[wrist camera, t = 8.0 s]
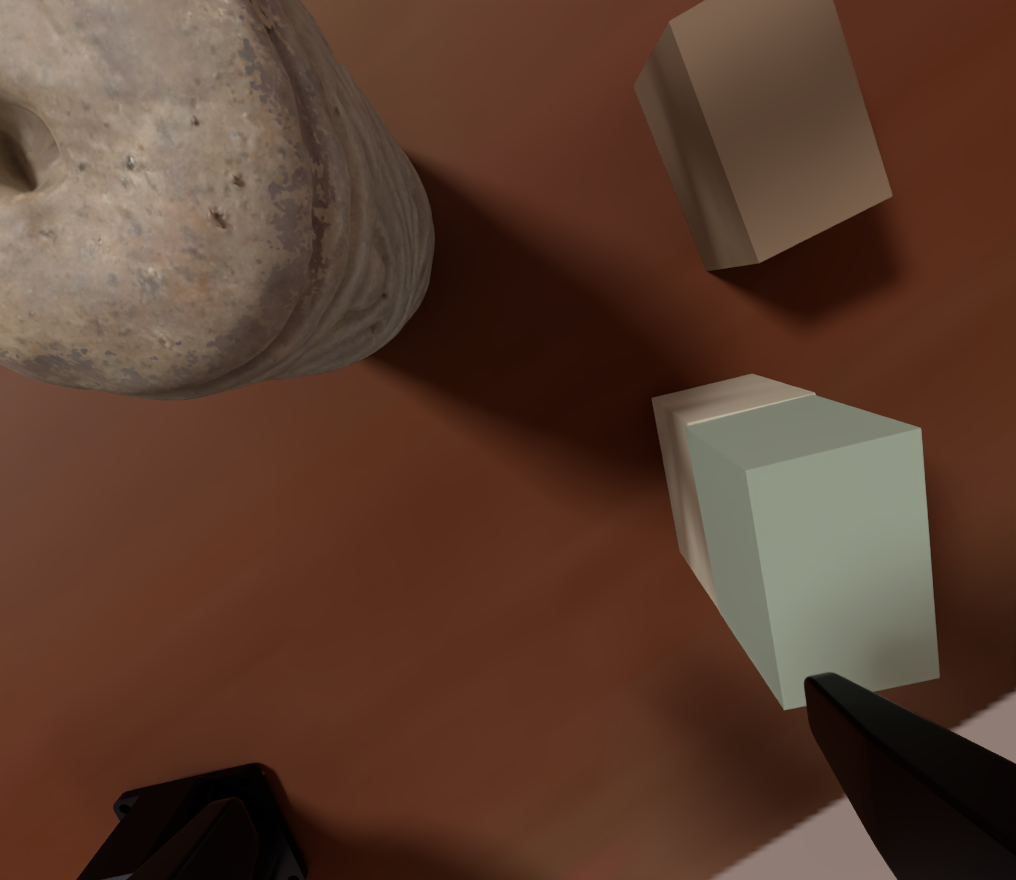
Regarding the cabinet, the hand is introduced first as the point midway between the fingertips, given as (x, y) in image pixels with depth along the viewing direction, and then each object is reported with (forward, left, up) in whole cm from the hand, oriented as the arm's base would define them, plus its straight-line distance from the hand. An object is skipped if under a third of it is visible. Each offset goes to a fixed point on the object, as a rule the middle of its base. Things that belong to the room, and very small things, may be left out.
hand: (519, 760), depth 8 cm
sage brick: (-1, -7, -8) cm, 10 cm away
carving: (+10, +3, -12) cm, 16 cm away
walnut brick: (+9, -9, -12) cm, 18 cm away
